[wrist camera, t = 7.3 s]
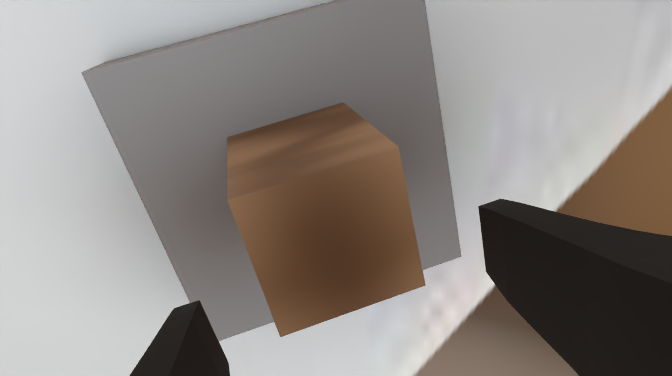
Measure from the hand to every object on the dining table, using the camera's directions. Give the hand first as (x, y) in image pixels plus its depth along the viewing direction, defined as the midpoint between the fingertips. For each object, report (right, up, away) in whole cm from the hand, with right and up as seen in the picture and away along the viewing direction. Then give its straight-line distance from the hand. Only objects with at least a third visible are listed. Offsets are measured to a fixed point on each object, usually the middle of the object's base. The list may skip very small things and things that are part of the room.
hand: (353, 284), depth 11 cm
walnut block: (-2, +3, +7) cm, 7 cm away
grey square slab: (-2, +4, +9) cm, 10 cm away
